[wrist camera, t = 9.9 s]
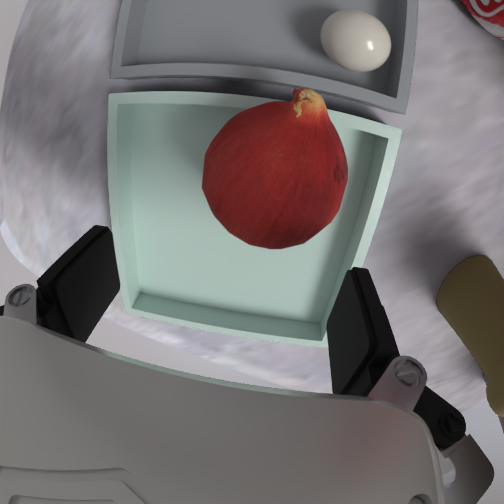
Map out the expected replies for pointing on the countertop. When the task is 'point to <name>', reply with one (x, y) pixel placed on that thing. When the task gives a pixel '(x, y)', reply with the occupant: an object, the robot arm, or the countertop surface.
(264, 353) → the countertop surface
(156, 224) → the bin
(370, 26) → the white ball
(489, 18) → the beverage can
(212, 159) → the red round fruit
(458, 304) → the cork
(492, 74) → the countertop surface
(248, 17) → the bin
